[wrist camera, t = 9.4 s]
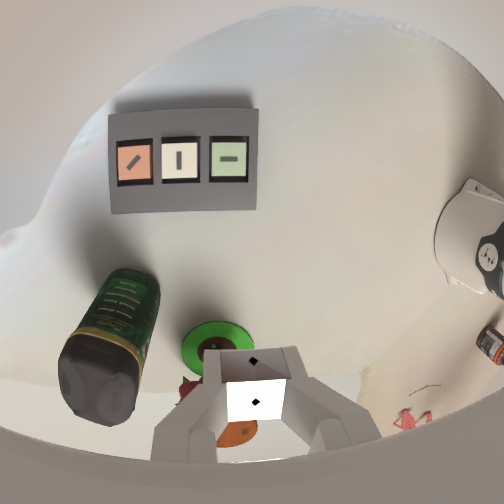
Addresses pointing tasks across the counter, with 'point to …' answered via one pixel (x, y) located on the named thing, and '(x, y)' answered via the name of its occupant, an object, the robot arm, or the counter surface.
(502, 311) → the counter surface
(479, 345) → the supplement bottle
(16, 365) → the counter surface
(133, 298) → the coffee jar
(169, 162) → the key mid
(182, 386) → the red green toy sculpture
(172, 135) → the keypad
